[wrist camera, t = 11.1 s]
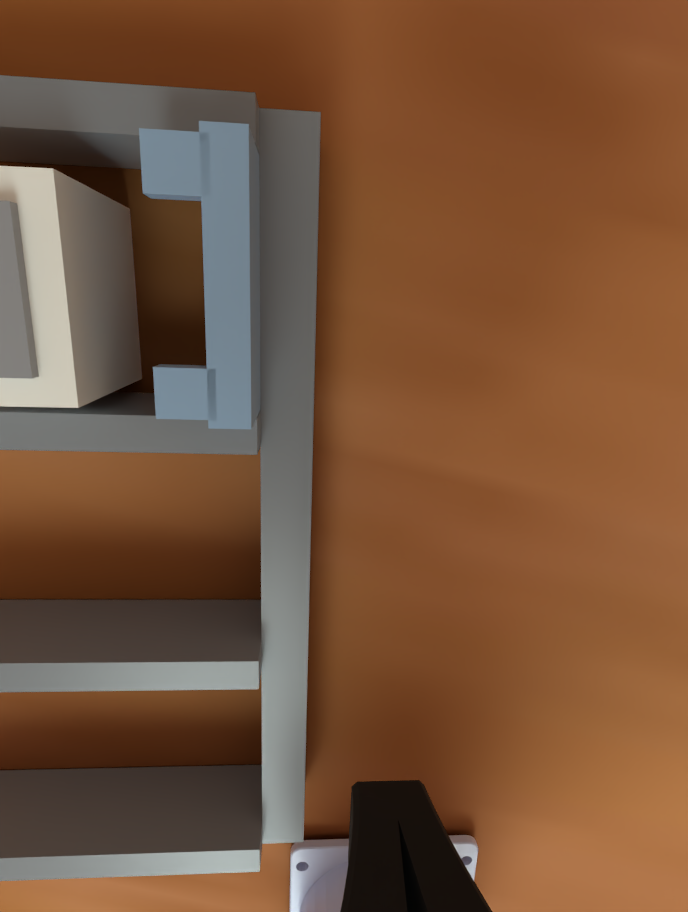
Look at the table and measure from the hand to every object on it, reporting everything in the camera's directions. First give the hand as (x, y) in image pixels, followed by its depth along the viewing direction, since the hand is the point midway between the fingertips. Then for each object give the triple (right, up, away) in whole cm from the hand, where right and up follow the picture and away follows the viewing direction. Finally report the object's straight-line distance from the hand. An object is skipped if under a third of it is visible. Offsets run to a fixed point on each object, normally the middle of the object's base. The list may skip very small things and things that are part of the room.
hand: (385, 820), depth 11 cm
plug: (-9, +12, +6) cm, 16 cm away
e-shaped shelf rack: (-8, +5, +8) cm, 12 cm away
